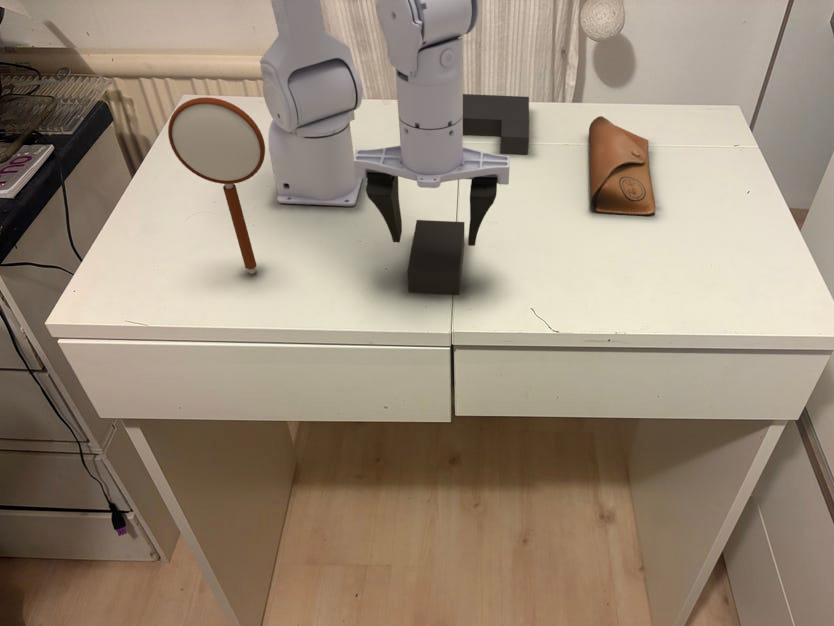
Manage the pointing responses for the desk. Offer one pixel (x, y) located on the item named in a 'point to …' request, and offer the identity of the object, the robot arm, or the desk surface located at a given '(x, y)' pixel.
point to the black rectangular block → (436, 257)
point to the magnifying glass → (220, 153)
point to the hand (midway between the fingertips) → (434, 238)
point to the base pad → (498, 120)
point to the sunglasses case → (619, 170)
